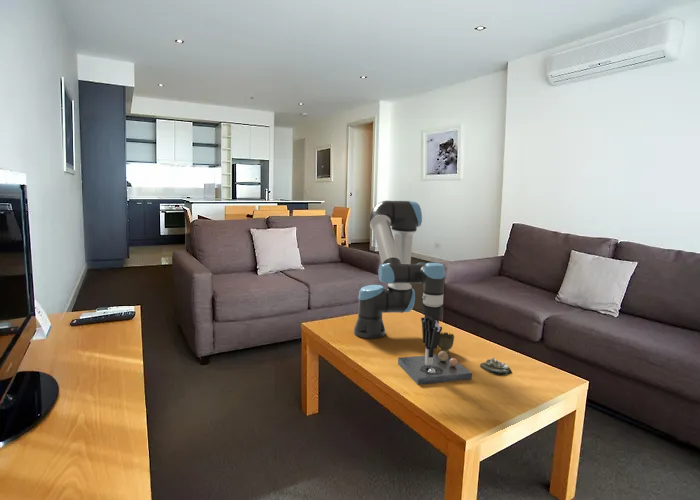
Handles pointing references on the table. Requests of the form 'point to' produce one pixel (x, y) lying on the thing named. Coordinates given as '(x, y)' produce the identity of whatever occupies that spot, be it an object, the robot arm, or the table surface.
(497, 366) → the grey rocky sculpture
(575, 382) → the table surface
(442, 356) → the beech ball
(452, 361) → the terracotta ball
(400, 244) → the robot arm
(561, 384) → the table surface
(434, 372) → the steel ball
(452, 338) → the cup
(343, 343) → the table surface
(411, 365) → the race plate
